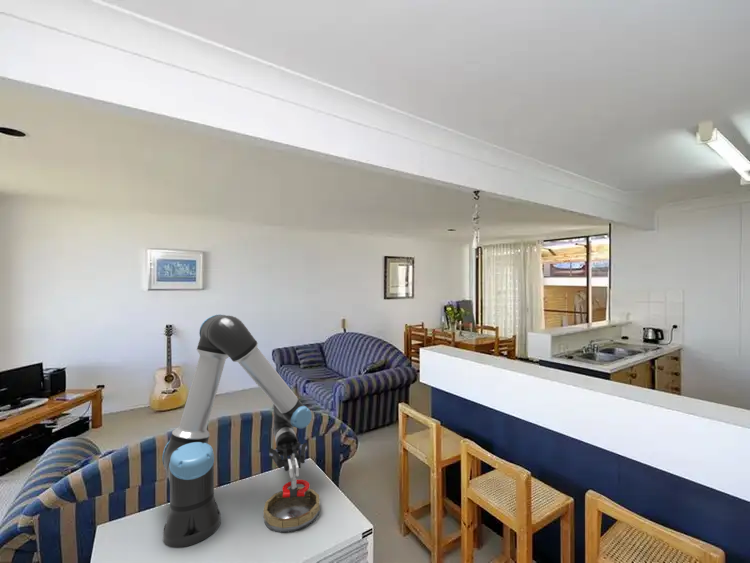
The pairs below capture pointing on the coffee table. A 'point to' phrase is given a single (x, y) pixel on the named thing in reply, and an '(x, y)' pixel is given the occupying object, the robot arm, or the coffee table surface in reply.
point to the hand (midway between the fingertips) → (294, 472)
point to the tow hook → (294, 490)
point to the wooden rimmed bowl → (291, 511)
